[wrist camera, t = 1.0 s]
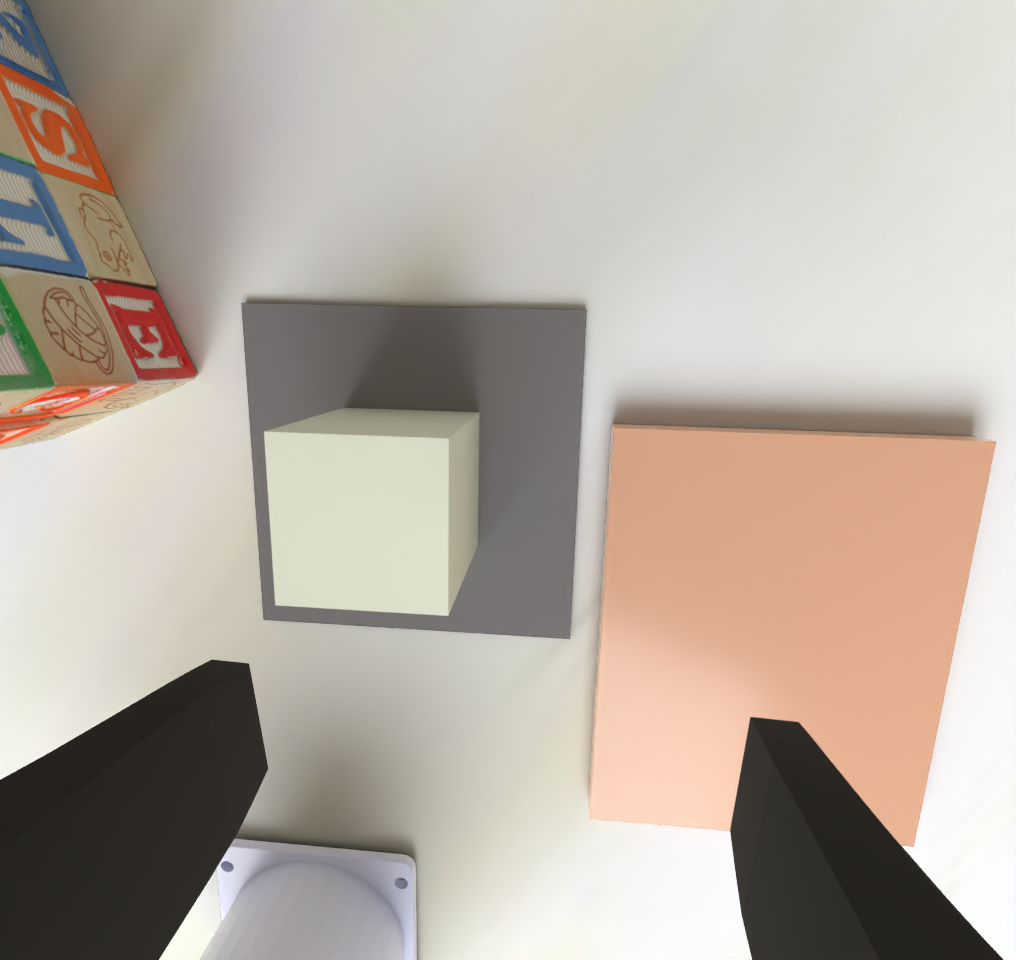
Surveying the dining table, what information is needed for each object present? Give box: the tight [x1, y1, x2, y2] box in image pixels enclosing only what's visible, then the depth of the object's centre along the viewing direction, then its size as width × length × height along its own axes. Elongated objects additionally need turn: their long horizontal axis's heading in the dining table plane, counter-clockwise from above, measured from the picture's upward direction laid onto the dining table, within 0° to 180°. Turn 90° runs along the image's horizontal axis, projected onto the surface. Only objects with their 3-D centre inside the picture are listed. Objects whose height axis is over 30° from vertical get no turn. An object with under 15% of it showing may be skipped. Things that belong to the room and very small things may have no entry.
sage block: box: [264, 408, 480, 616], centre depth 18 cm, size 4×4×6 cm
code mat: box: [241, 303, 586, 639], centre depth 20 cm, size 11×11×1 cm
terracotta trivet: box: [589, 424, 996, 847], centre depth 20 cm, size 14×11×1 cm
